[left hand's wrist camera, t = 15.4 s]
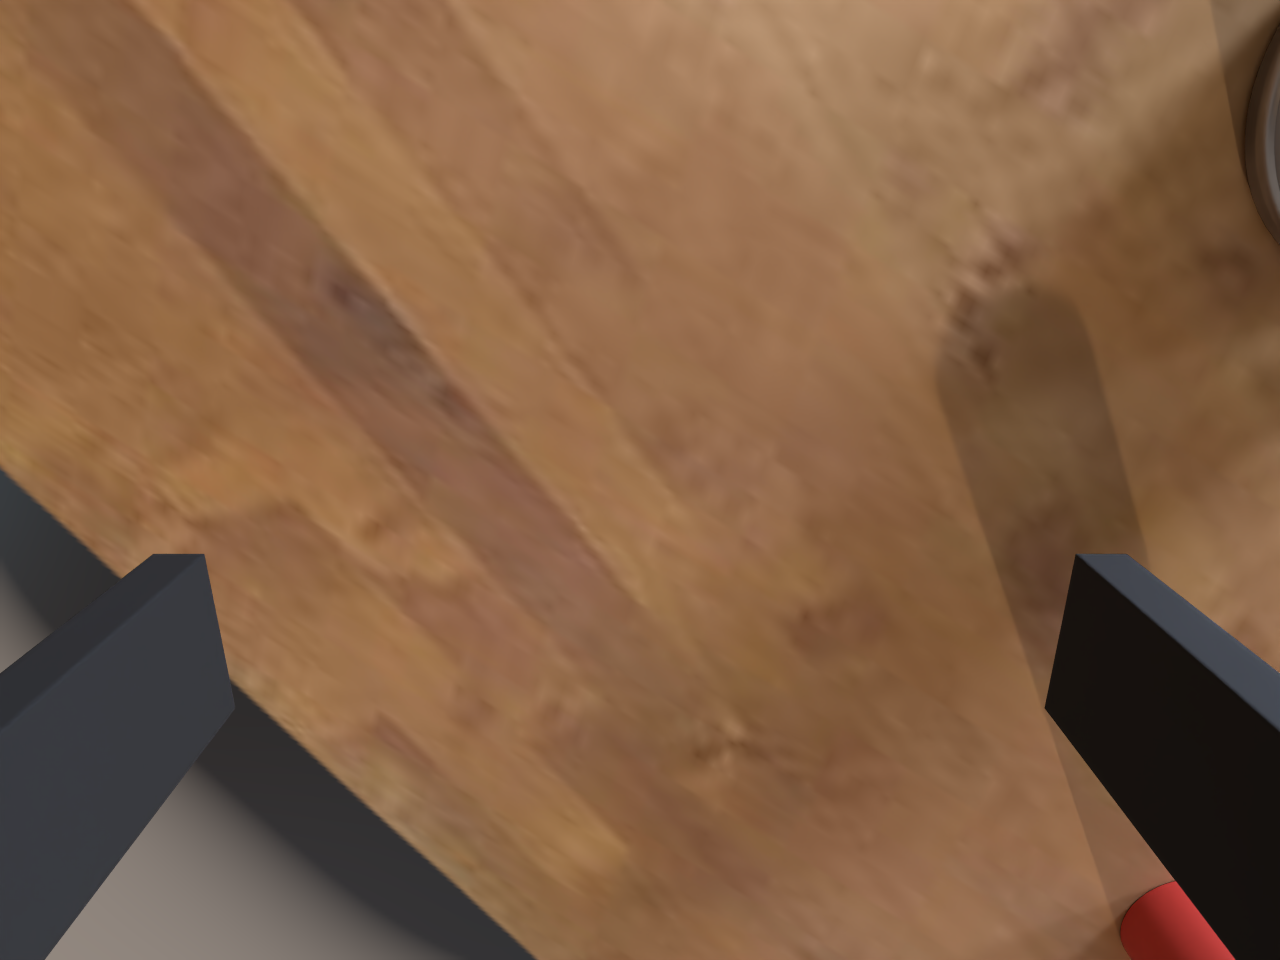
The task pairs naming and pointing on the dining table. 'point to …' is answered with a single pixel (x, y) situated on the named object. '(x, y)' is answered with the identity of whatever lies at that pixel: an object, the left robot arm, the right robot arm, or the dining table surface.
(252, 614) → the dining table surface
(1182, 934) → the can
